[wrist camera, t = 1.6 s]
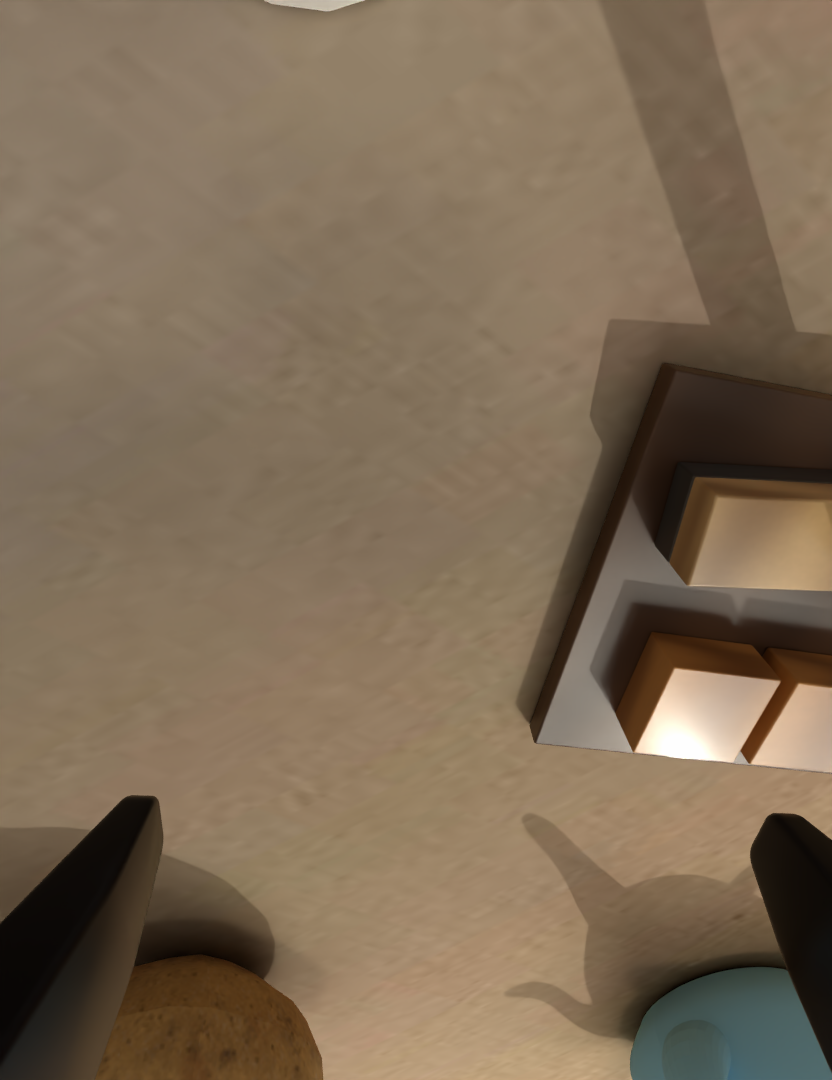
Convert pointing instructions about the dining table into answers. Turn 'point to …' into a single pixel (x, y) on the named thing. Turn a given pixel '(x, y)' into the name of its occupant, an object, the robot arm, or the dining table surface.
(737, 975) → the teapot
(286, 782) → the dining table surface
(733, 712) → the brown wooden square block
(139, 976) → the potato
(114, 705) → the dining table surface
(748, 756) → the wooden square block
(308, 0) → the bottle
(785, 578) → the brush
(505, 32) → the dining table surface
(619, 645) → the shelf board
